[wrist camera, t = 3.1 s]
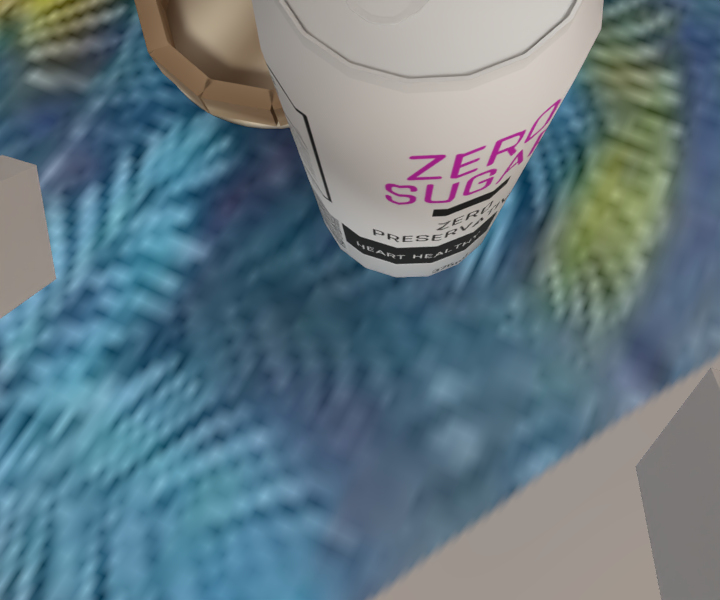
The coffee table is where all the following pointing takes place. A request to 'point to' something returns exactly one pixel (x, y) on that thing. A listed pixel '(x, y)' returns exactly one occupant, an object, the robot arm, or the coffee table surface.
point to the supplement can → (419, 112)
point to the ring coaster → (213, 58)
